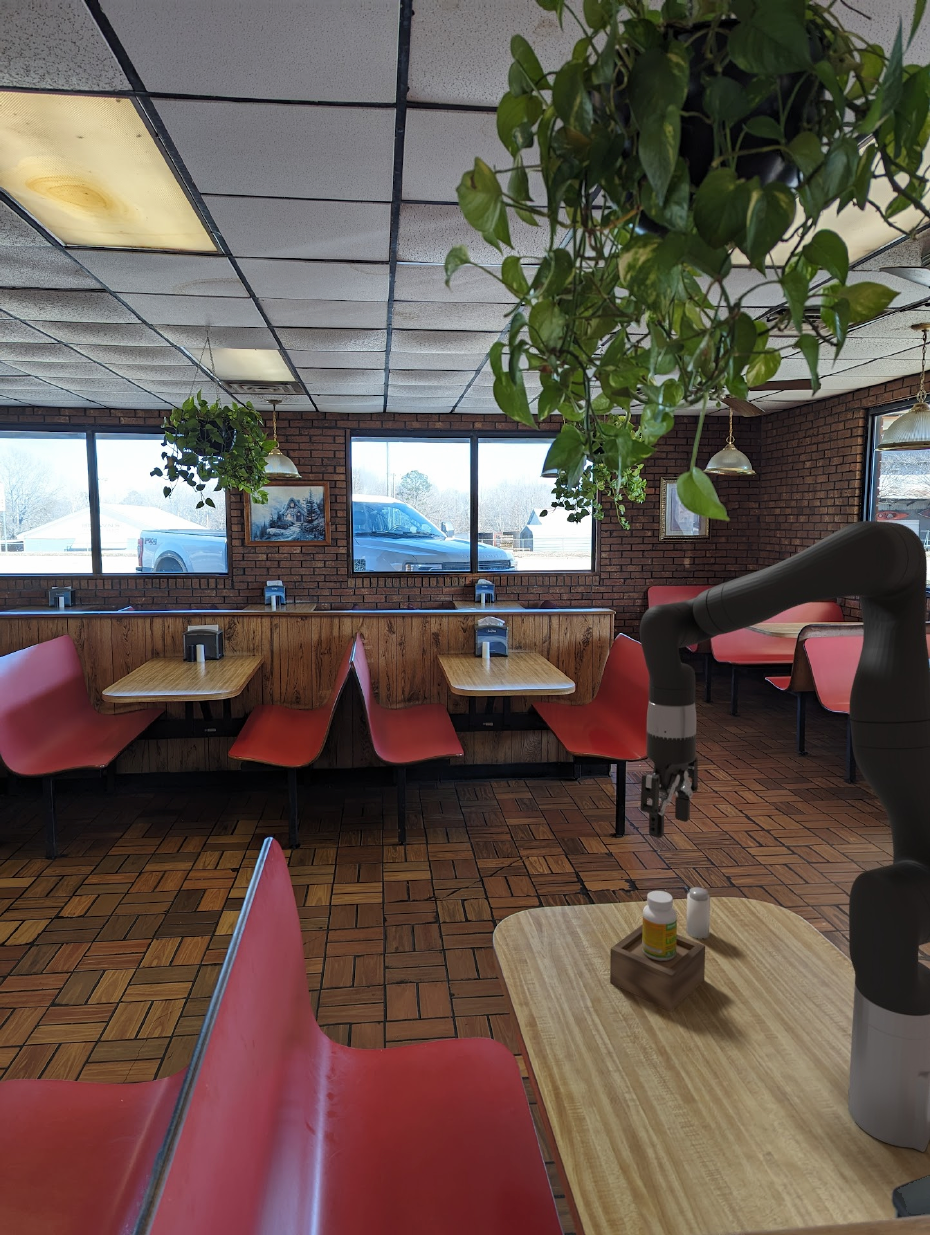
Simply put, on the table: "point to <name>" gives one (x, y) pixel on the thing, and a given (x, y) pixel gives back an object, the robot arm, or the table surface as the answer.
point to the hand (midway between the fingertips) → (669, 827)
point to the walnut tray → (657, 970)
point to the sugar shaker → (698, 913)
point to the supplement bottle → (659, 927)
